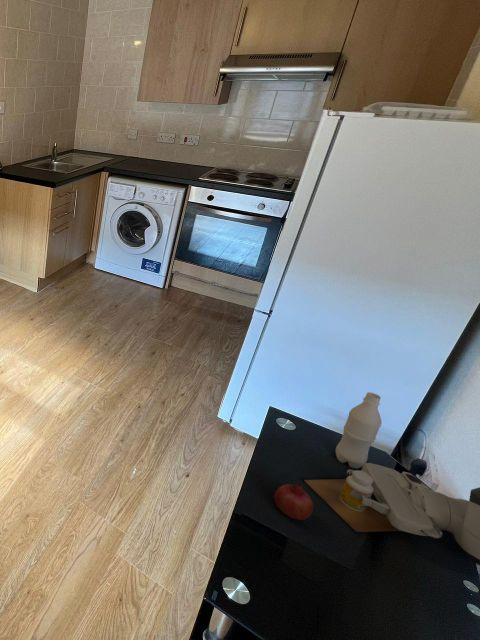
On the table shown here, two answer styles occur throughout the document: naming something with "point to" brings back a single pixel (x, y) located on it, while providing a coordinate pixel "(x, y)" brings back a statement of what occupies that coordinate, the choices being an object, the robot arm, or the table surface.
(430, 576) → the table surface
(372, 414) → the water bottle
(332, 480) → the cork mat
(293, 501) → the fruit
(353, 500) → the supplement bottle
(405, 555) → the table surface
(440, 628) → the table surface
